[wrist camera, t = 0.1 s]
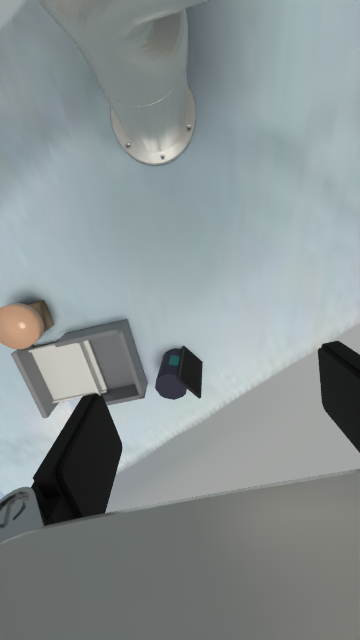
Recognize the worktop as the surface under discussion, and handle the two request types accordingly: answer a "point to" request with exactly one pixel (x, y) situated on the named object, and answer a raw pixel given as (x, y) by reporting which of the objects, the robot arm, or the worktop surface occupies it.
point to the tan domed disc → (20, 326)
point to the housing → (114, 359)
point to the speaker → (179, 374)
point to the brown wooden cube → (43, 313)
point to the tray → (59, 373)
